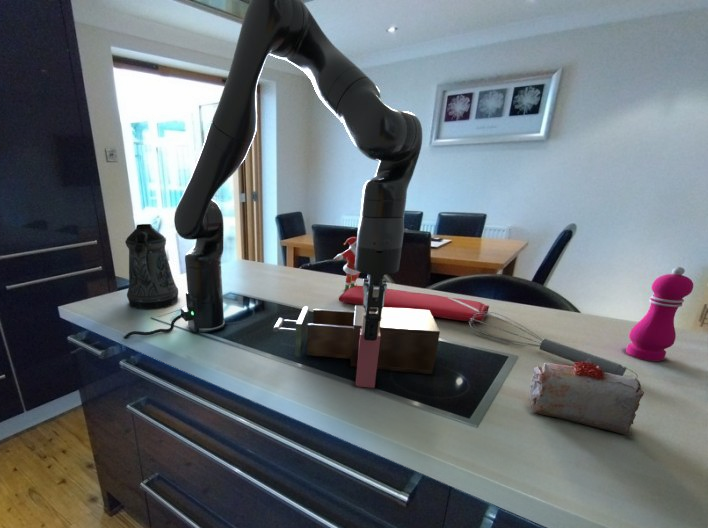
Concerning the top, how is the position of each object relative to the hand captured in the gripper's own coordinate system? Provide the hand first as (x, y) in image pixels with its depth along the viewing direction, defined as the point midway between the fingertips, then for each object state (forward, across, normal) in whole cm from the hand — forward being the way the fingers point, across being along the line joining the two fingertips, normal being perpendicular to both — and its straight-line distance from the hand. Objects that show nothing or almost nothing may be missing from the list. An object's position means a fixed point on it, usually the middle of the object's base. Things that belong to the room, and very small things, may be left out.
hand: (369, 331), depth 73 cm
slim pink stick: (+11, 0, 0) cm, 11 cm away
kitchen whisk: (+11, -24, +39) cm, 47 cm away
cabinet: (+11, -14, +5) cm, 19 cm away
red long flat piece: (+11, -52, +14) cm, 55 cm away
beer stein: (+12, -40, -67) cm, 79 cm away
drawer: (+10, -14, -10) cm, 20 cm away
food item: (+11, +3, +34) cm, 36 cm away
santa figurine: (+12, -69, -5) cm, 70 cm away
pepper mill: (+11, -27, +61) cm, 68 cm away
